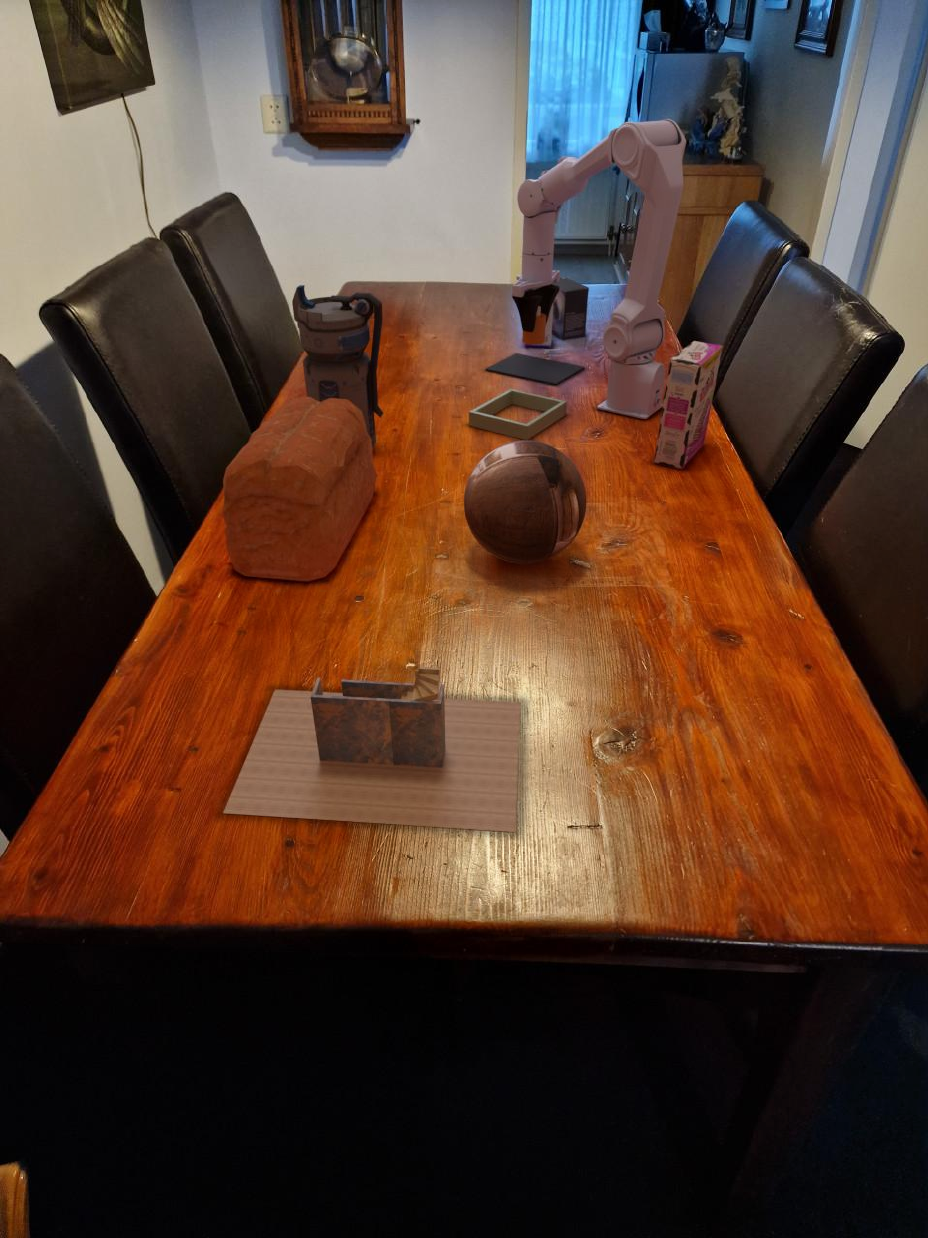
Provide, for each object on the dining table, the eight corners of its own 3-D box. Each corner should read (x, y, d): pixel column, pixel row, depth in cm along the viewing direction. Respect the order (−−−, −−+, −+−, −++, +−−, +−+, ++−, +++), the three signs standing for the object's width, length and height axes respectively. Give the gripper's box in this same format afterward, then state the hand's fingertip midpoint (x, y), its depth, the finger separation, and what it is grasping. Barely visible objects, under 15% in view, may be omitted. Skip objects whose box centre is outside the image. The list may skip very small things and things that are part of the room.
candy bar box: (683, 471, 125) (701, 364, 115) (652, 464, 127) (667, 358, 118) (706, 445, 133) (724, 343, 123) (676, 439, 135) (692, 338, 125)
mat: (584, 368, 164) (584, 366, 164) (555, 385, 156) (555, 383, 156) (516, 354, 172) (516, 352, 171) (485, 370, 163) (485, 368, 163)
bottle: (548, 340, 160) (550, 306, 156) (537, 346, 157) (539, 311, 153) (529, 336, 162) (530, 302, 158) (518, 342, 159) (519, 307, 155)
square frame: (566, 414, 144) (567, 401, 142) (527, 440, 135) (527, 426, 133) (510, 401, 149) (510, 388, 148) (468, 425, 140) (468, 411, 138)
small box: (537, 327, 188) (540, 279, 182) (562, 324, 190) (565, 276, 184) (561, 339, 180) (564, 290, 174) (586, 336, 182) (590, 286, 176)
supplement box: (551, 340, 180) (554, 285, 173) (550, 348, 175) (554, 292, 168) (524, 339, 180) (527, 285, 174) (523, 347, 175) (526, 292, 169)
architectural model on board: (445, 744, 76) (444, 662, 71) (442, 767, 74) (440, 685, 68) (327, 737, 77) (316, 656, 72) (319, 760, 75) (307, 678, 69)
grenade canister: (382, 466, 127) (370, 298, 112) (300, 460, 129) (279, 294, 114) (397, 440, 135) (389, 280, 120) (320, 435, 137) (303, 277, 122)
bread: (222, 576, 101) (198, 463, 92) (292, 482, 122) (278, 383, 113) (331, 585, 99) (318, 471, 90) (383, 488, 120) (376, 388, 112)
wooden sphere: (447, 538, 108) (446, 431, 99) (550, 519, 112) (557, 414, 104) (490, 597, 97) (492, 481, 88) (602, 573, 101) (615, 461, 92)
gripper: (538, 243, 157) (535, 315, 165) (498, 256, 147) (497, 333, 155) (571, 247, 154) (566, 321, 161) (532, 261, 144) (529, 339, 152)
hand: (534, 327), depth 158 cm, fingers closed on bottle, 4 cm apart
